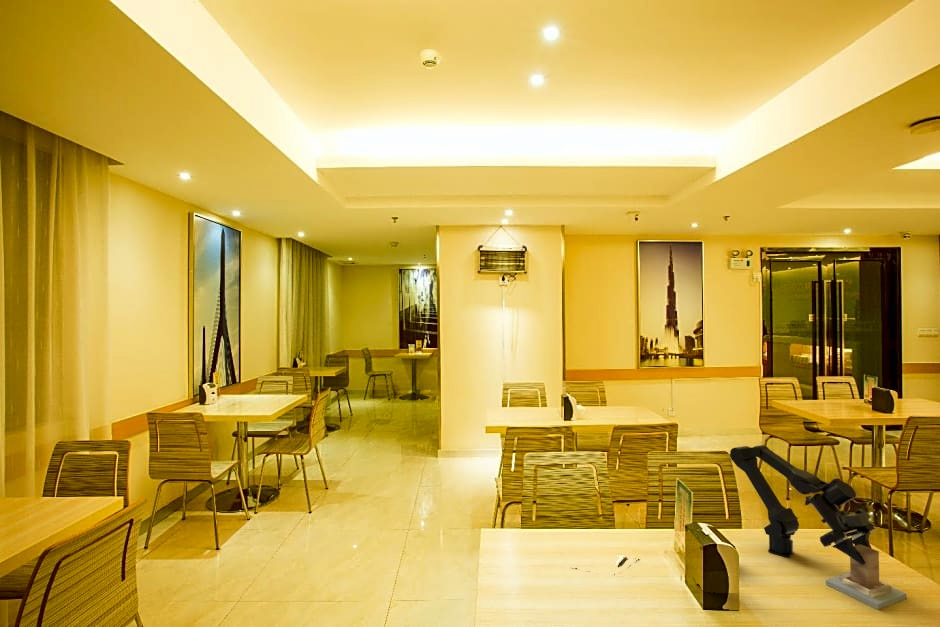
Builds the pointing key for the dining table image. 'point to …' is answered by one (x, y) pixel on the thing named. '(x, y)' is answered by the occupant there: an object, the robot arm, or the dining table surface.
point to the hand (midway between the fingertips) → (869, 562)
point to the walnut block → (865, 567)
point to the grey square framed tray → (867, 591)
